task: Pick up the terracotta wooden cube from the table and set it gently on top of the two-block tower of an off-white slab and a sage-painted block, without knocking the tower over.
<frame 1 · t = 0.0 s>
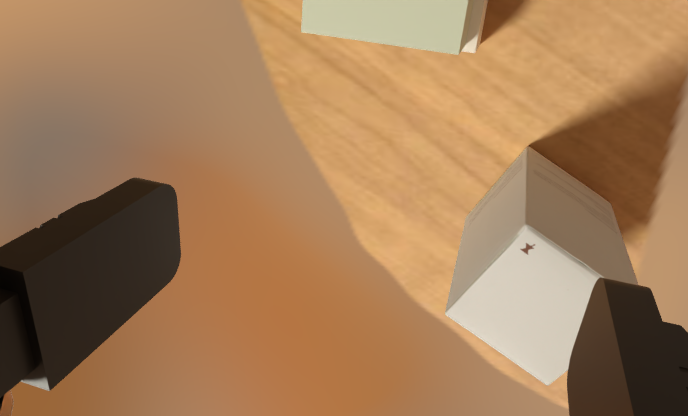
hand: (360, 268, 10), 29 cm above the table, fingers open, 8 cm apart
supplement box: (535, 210, 39), on the table
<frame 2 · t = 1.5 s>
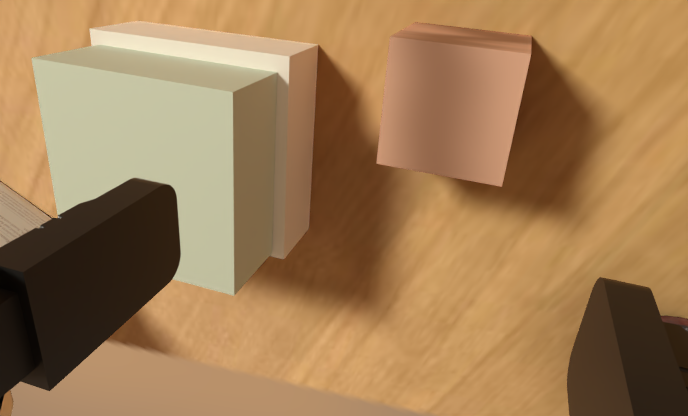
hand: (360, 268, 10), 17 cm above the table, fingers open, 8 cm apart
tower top: (189, 152, 26), point 4 cm above the table, touching tower base
terracotta cube: (462, 85, 25), on the table
tower base: (230, 126, 30), on the table, touching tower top
supplement box: (27, 240, 38), on the table
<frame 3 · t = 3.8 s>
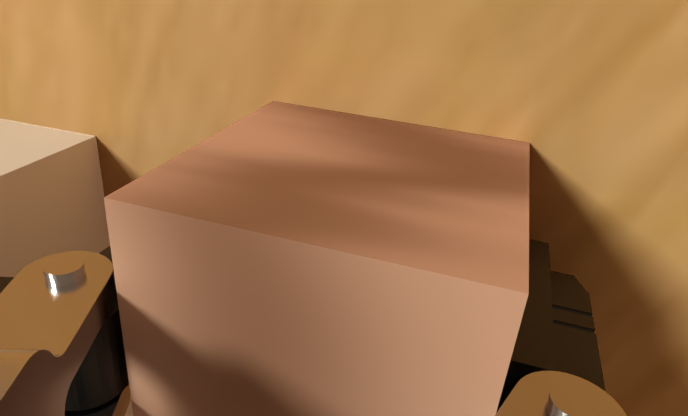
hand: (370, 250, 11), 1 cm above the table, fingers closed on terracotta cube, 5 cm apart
terracotta cube: (380, 235, 11), on the table, touching gripper
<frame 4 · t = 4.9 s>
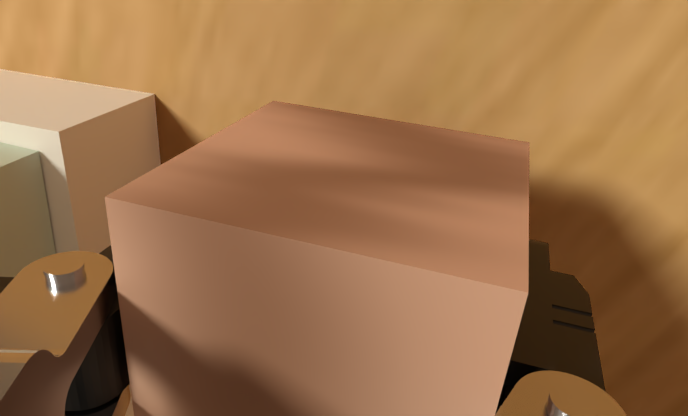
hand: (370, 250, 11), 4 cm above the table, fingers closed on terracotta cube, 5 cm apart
terracotta cube: (380, 234, 11), point 3 cm above the table, touching gripper
tower base: (47, 213, 19), on the table
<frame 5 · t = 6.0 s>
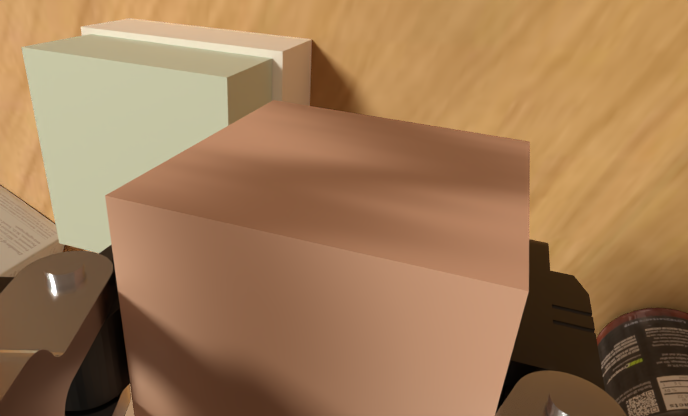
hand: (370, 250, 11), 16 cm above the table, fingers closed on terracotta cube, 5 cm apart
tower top: (184, 142, 26), point 4 cm above the table
terracotta cube: (380, 233, 11), point 15 cm above the table, touching gripper
supplement bottle: (654, 349, 27), on the table
tower base: (224, 123, 29), on the table
supplement box: (18, 237, 38), on the table
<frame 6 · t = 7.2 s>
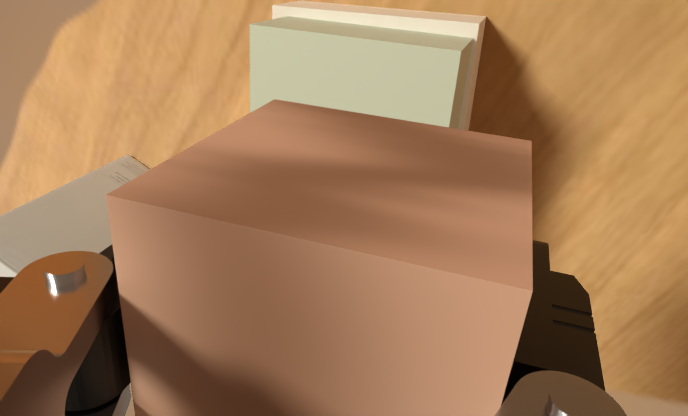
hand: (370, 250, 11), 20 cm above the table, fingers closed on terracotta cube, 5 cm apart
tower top: (367, 119, 27), point 3 cm above the table, touching tower base
terracotta cube: (381, 233, 11), point 19 cm above the table, touching gripper
tower base: (383, 100, 31), on the table, touching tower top
supplement box: (156, 217, 39), on the table
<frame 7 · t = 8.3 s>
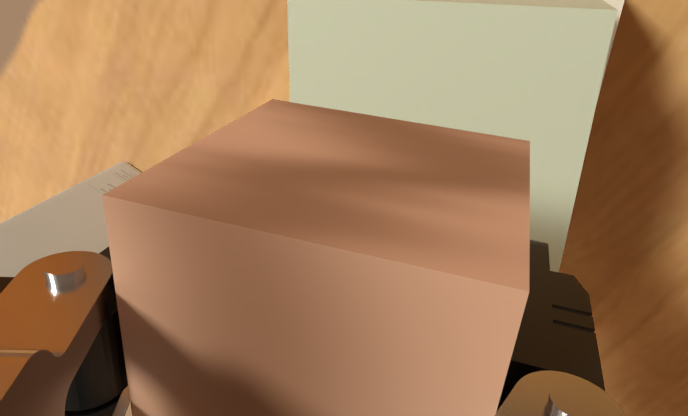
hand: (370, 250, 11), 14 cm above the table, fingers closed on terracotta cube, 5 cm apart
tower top: (444, 122, 20), point 4 cm above the table, touching tower base
terracotta cube: (380, 233, 11), point 14 cm above the table, touching gripper
tower base: (457, 96, 24), on the table, touching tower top
supplement box: (157, 237, 32), on the table
when the fingers open (9 cm above the table, at t = 10.4 s): terracotta cube stays where it is, resting on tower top.
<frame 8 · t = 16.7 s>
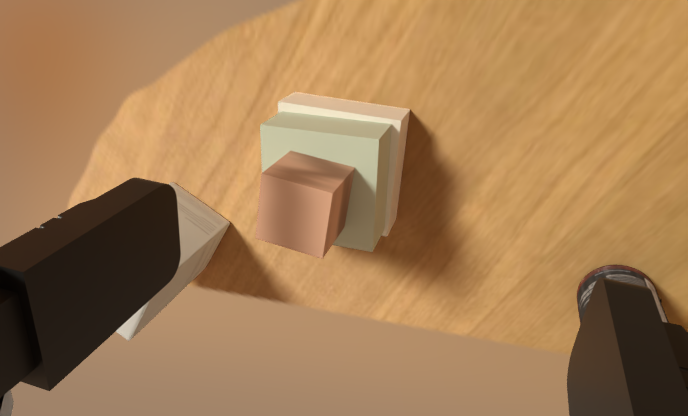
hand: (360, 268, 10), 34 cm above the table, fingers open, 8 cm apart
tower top: (334, 171, 44), point 3 cm above the table, touching terracotta cube
terracotta cube: (317, 189, 41), point 8 cm above the table, touching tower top
supplement bottle: (614, 291, 45), on the table
tower base: (348, 155, 48), on the table
supplement box: (190, 225, 56), on the table
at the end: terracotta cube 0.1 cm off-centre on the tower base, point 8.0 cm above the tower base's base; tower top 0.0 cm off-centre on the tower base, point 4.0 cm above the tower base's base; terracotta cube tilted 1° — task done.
